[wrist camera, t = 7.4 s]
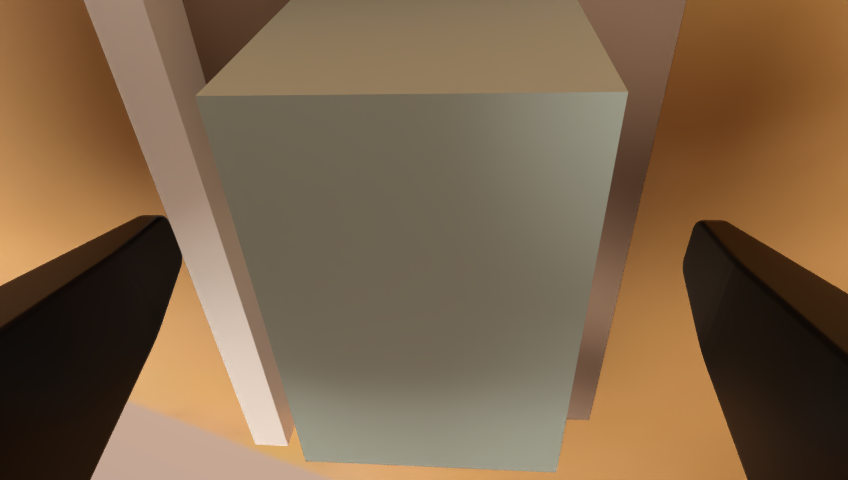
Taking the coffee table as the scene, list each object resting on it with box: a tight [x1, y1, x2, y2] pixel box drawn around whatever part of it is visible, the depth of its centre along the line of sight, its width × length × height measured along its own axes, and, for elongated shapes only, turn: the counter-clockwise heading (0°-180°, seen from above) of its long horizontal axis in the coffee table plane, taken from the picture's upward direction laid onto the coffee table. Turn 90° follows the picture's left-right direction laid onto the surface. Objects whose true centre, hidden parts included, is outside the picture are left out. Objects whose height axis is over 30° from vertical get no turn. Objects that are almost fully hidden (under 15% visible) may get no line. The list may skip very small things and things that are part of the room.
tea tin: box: [195, 0, 628, 472], centre depth 10 cm, size 5×7×5 cm, turn 2°
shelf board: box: [182, 0, 686, 420], centre depth 12 cm, size 18×10×1 cm, turn 2°
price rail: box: [84, 0, 295, 446], centre depth 12 cm, size 18×1×2 cm, turn 2°
